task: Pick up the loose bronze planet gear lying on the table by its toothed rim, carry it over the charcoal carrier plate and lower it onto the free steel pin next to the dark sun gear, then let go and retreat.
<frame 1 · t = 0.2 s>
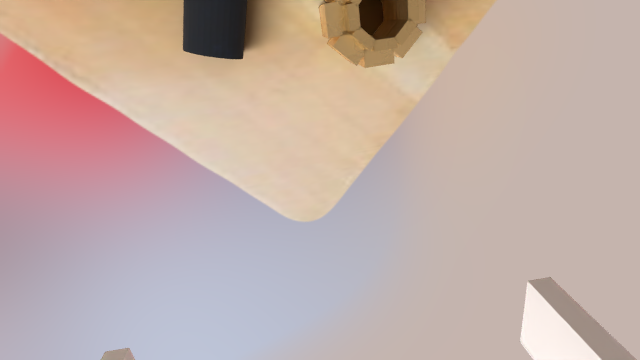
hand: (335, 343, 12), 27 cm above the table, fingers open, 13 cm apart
planet gear: (363, 14, 33), on the table
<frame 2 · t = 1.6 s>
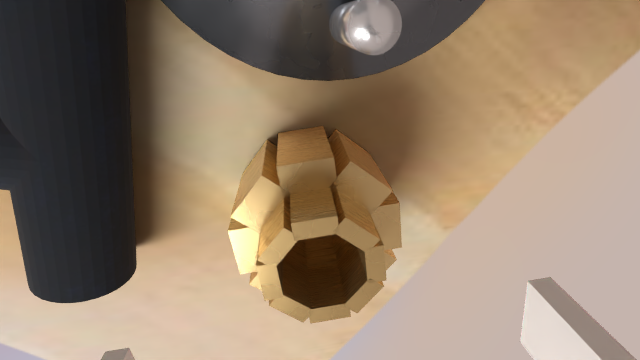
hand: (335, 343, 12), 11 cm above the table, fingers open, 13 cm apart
pipe connector: (32, 118, 19), on the table
planet gear: (311, 192, 22), on the table
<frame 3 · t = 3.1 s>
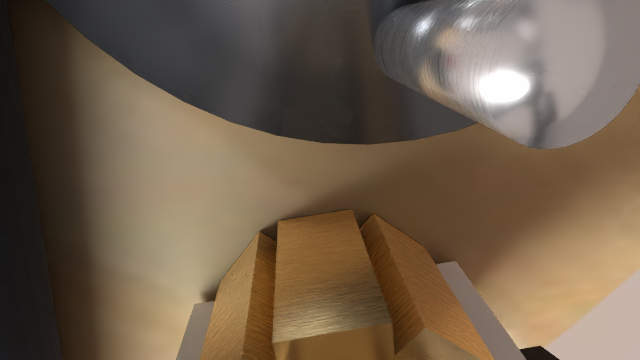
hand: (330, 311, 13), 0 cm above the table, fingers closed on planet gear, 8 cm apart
planet gear: (330, 306, 14), on the table, touching gripper
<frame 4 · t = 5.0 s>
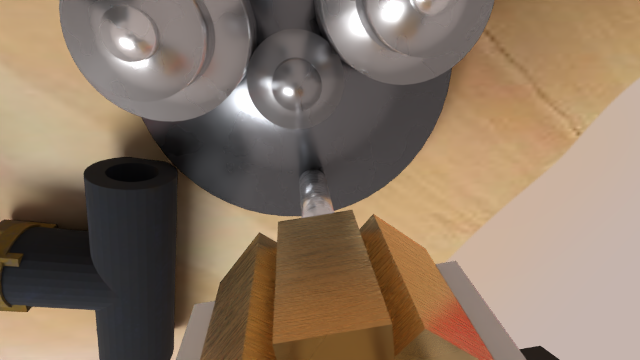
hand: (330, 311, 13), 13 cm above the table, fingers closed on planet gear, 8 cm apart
pipe connector: (103, 245, 26), on the table
carrier: (294, 72, 22), on the table
planet gear: (330, 307, 14), point 13 cm above the table, touching gripper
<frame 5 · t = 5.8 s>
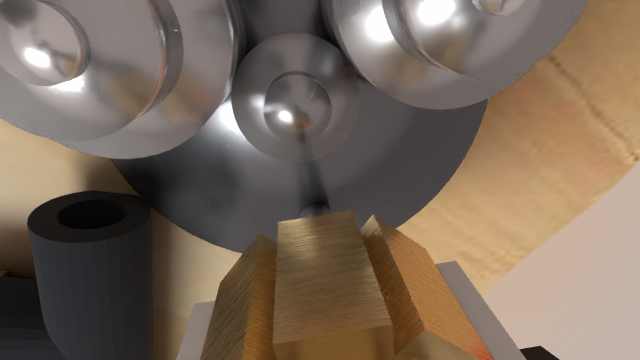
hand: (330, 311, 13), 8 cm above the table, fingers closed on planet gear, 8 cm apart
pipe connector: (67, 292, 22), on the table
carrier: (294, 85, 18), on the table
planet gear: (330, 307, 14), point 8 cm above the table, touching gripper
when the fingers open (4 cm above the table, at t = 7.0 s): planet gear drops 2 cm, resting on carrier.
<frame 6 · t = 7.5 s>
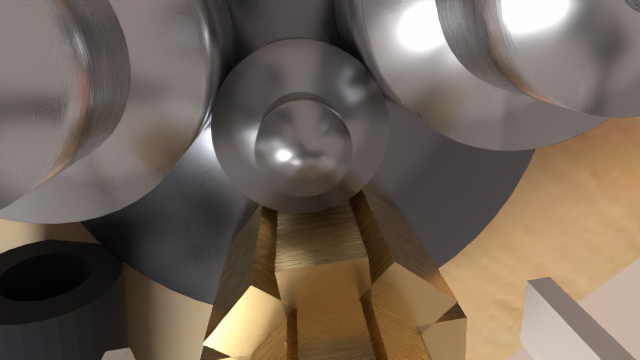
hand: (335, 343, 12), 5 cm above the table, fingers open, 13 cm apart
pipe connector: (29, 354, 18), on the table
carrier: (297, 104, 14), on the table
planet gear: (324, 268, 16), point 1 cm above the table, touching carrier
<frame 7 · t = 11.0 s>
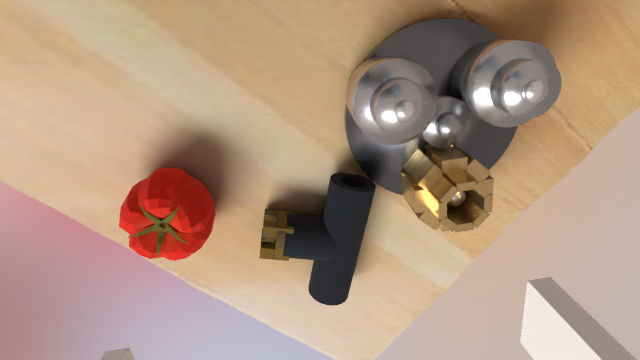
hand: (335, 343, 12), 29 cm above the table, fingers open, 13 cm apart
pipe connector: (310, 225, 44), on the table
carrier: (431, 114, 39), on the table
tomato: (180, 196, 41), on the table
planet gear: (435, 176, 41), point 1 cm above the table, touching carrier
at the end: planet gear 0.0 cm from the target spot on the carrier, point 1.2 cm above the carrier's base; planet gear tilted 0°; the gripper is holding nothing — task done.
